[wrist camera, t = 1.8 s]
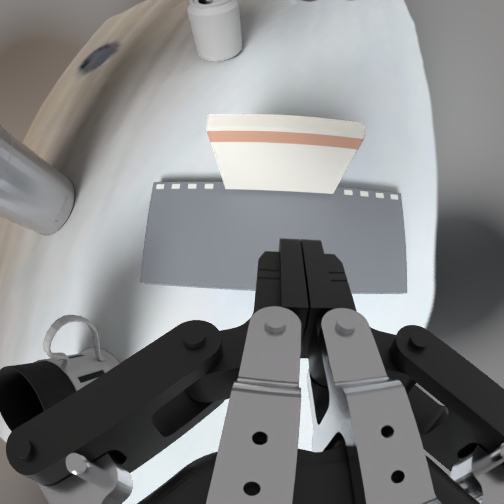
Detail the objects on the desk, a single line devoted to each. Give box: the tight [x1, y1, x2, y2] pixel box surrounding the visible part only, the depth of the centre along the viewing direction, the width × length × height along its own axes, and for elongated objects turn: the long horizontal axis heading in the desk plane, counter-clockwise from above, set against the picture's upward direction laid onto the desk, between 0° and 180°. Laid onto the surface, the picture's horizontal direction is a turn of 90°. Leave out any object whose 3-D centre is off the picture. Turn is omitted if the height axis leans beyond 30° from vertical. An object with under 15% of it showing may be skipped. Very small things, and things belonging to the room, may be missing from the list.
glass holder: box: [0, 315, 120, 431], centre depth 23 cm, size 9×14×15 cm, turn 152°
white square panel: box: [206, 114, 365, 194], centre depth 26 cm, size 12×1×12 cm, turn 87°
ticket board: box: [140, 182, 407, 294], centre depth 32 cm, size 30×12×2 cm, turn 87°
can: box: [187, 0, 243, 62], centre depth 34 cm, size 8×8×12 cm
